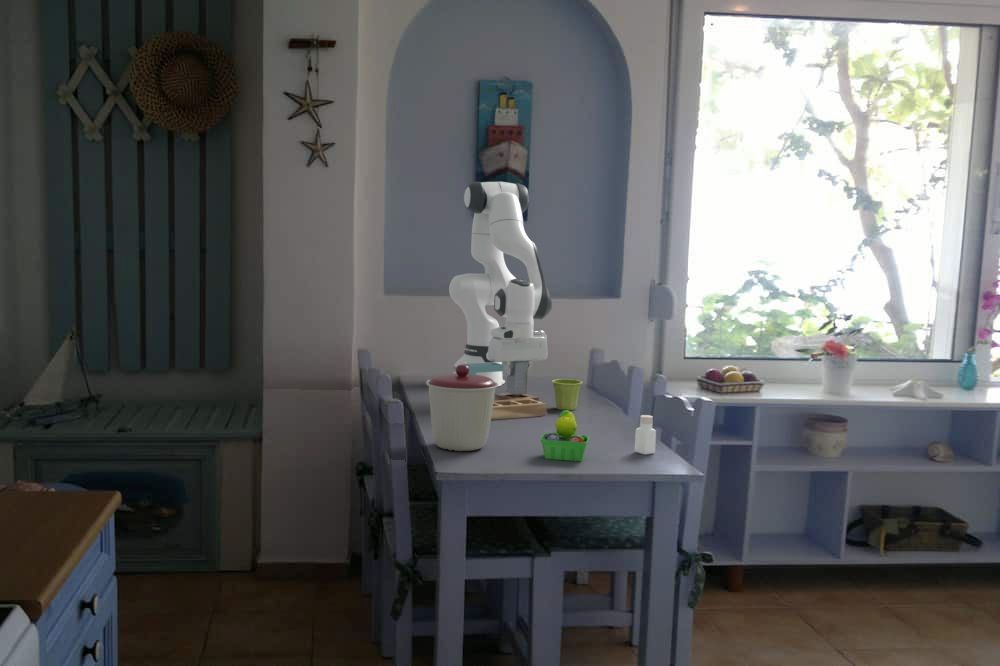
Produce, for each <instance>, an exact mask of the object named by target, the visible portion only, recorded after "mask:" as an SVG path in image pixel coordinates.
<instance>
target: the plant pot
mask: <svg viewBox="0 0 1000 666" xmlns="http://www.w3.org/2000/svg"><path fill="white" fill-rule="evenodd" d="M551 383H552V385H553V388H554V395H555V407H556V409H557V410H560V411H564V410H568V411H574V410H576V408H577V405H578V399H579V393H580V389H581V387H582V386H581V385H582V384H583V381H582V380H578V379H573V378H572V379H571V378H556V379H553V380H551Z"/></svg>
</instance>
